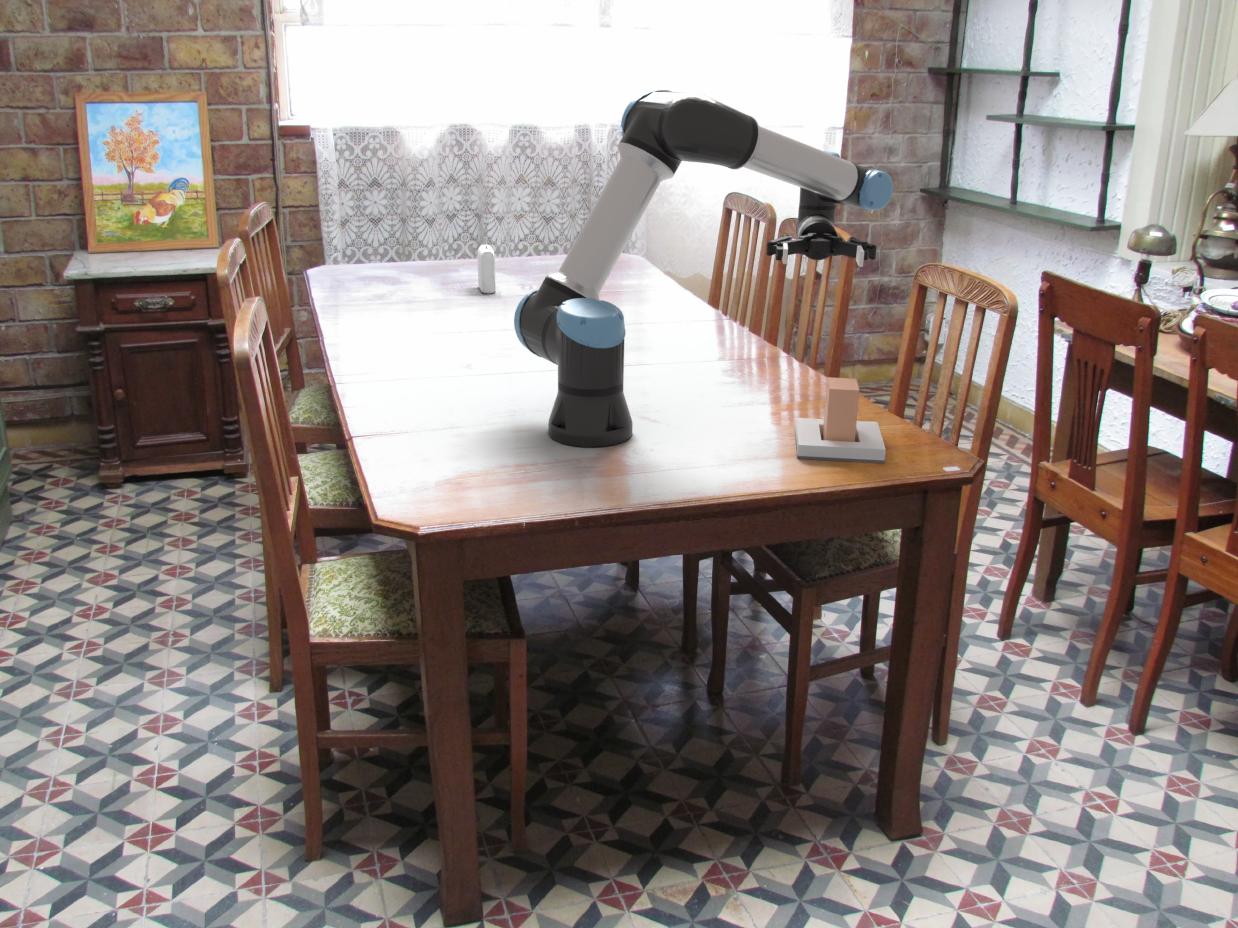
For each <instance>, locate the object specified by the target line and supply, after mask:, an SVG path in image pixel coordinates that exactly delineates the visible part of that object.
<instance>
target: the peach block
mask: <svg viewBox="0 0 1238 928" xmlns="http://www.w3.org/2000/svg"><path fill="white" fill-rule="evenodd" d="M857 379H858V378H853V377H852V378H849V377H847V378H846V377H830V376H829V377H828V376H827V379H826V381H827V382H826V391H825V404H824V416H823V417H824V418H823V419H824V426H823V440H827V441H846V442H855V433H856V423H857V421H858V410H859V400H860V386H859V383H858V380H857Z"/></svg>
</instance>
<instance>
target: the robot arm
mask: <svg viewBox="0 0 1238 928" xmlns="http://www.w3.org/2000/svg"><path fill="white" fill-rule="evenodd" d="M620 122H621V123H620V126H621V127H620V128H621V129H622V131H621V136H622V137H621V139H620V141H619V143H618V144H617V147H618V151H619V157H620V158H619V160H618V161H617V164H616V165H615V167H614V169H613V171H612V172H611V175H610V176H609V179H608V180H607V181H606V184H605V185H604V187H603V189H602V191H601V192H600V195H599V196H598V198H597V200H596V202H595V204H594V206H593V208H592V209H591V211H590V213H589V215H588V216H587V218H586V220H585V222H584V224H583V225H582V228H581V229H580V231H579V233H578V235H577V236H576V239H575V240H574V242H573V244H572V245H571V248H570V249H569V250H568V253H567V254H566V257H565V258H564V260H563V262H562V264H561V266H560V267H559V269H558V271H557V272H553V273H551V274H547V275H546V276H545V278H544V280H543V281H542V283H541V284H540V287H539V288H538V289H536V290H534V291H532V292H529V293H527V294H526V295H525V296H524V297H522V299H521V300H520V301H519V302H518V304H517V306H516V308H515V312H514V316H513V326H514V330H515V334H516V336H517V339H518V341H519V343H521V344H522V346H523V347H524V348H525V349H527V350H528V351H529V352H530V353H532V354H533V355H535V356H536V357H540V358H543V359H545V360H547V361H548V362H551V363H552V364H555V365H556V366H557V394H556V397H555V400H554V402H553V406H552V409H551V412H550V415H549V417H548V424H547V425H548V431H547V432H548V435H549V438H551V439H553V441H555V442H558V443H561V444H565V445H567V446H574V447H582V448H583V447H585V448H586V447H587V448H593V447H594V448H597V447H599V448H600V447H607V446H614V445H618V444H621V443H624V442H625V441H628V440H630V438H631V437H632V436H633V425H634V424H633V418H632V416H631V414H630V413H631V412H630V410H629V406H628V404H627V403H628V402H627V400H626V397H625V393H624V377H625V376H624V373H625V372H624V371H625V338H626V327H625V326H626V325H625V318H624V317H625V316H624V314H623V311H622V310H621V309H620V308H619V307H618V306H617V305H615V304H613V303H611V302H609V301H606V300H603V299H602V300H601V299H600V297H599V296H600V292H601V291H602V289H603V287H605V283H606V282H607V280H608V279H609V277H610V274H611V273H612V271H613V270H614V267H615V266H616V264H617V262H618V261H619V258H620V256H621V255H622V253H623V251H624V249H625V247H626V246H627V243H628V242H629V240H630V238H631V237H632V235H633V233H634V232H635V230H636V227H637V226H638V224H639V222H640V220H641V218H642V217H643V214H644V213H645V211H646V210H647V207H648V205H649V204H650V202H651V200H652V199H653V196H654V194H655V193H656V191H657V189H658V188H659V185H660V183H661V182H663V181H665V180H669V179H670V180H671V179H672V178H673V177H674V176H675V174H676V172H677V170H678V168H679V166H680V165H681V163H682V162H688V163H701V164H710V165H711V164H712V165H717V166H722V167H724V168H725V167H726V168H728V169H731V170H739V169H741V168H746V169H748V170H750V171H753V172H757V173H758V174H759V173H760V174H762V175H765V176H767V177H771V178H774V179H777V180H780V181H782V182H785V183H788V184H791V185H794V186H795V187H796V186H797V187H799V205H798V213H797V222H796V228H795V233H796V236H797V239H793V236H792V235H790V234H784V235H783V236H781V237H778V238H775V239H772V240H768V241H767V242H766V253H765V254H766V256H769V257H771V256H775V261H782V264H783V265H788V256H790V255H791V256H792V255H796V254H798V255H802V256H805V257H806V258H808V259H809V260H813V261H824V260H826V259H828V258H830V257H831V256H833V257H839V256H845V257H848V258H849V257H850V258H854V259H855V261H856V263H857V266H858V267H859V268H863V267H864V261H868V259H869V260H871V261H872V260H873V261H874V260H875V259H876V257H877V249H878V248H877V247H878V246H877V245H875V244H872V243H869V242H868V241H863V240H860V239H857V238H856V237H854V236H851V237H848V238H847V240H846V241H845V240H844V239H843V238H842V237H840V236H839V235H838V233H837V230H836V228H835V222H836V211H837V210H836V209H837V204H838V205H841V206H842V205H843V206H848V207H853V208H856V209H862V210H864V211H880V210H883V209H884V208H885V207H886V206H888V204H889V203H890V201H891V199H892V196H893V193H894V181H893V179H892V177H891V175H889V174H888V173H887V172H885V171H882V170H879V169H877V168H868V167H865V166H862V165H860V164H857V163H854V162H851V161H849V160H847V159H844V158H841V155H840V154H839V153H838V152H834V151H825V150H821V149H818V148H816V147H813V146H811V145H810V144H809V145H808V144H805V143H803V142H801V141H799V140H796V139H794V138H790V137H788V136H786V135H783V134H780V133H778V132H776V131H773V130H771V129H768V128H765V127H762V126H760V125H759V123H758V121H757V119H755V117H753V116H751V115H749V114H746V113H744V112H741V111H739V110H737V109H735V108H733V107H732V106H731V107H730V106H728V105H727V104H725V103H722V102H721V101H718V100H717V99H713V98H712V97H709V96H706V95H703V94H699V93H691V92H690V93H688V92H677V91H671V90H668V89H657V90H650V91H644V92H642V93H641V94H638V95H637V96H636V97H634V98H633V99H631V101H630V102H629V103H628V105H627V106H626V108H625V109H624V112H623V114H622V117H621V121H620Z"/></svg>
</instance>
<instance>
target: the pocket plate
mask: <svg viewBox="0 0 1238 928" xmlns="http://www.w3.org/2000/svg"><path fill="white" fill-rule="evenodd" d="M794 425H795V426H794V436H795V446H796V458H797V459H799V460H815V461H816V460H818V461H837V462H854V463H855V462H857V463H871V464H872V463H873V464H875V463H876V464H885V459H886V450H887V449H886V446H885V443H884V439H883V436H882V433H881V430H880V427H879V422H878V421H867V420H866V421H864V420H857V423H856V433H855V442H846V441H827V440H823V426H824V418H821V419H820V418H806V417H805V418H804V417H795V424H794Z"/></svg>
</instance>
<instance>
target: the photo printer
mask: <svg viewBox="0 0 1238 928" xmlns="http://www.w3.org/2000/svg"><path fill="white" fill-rule="evenodd" d="M495 255H496V254H495V252H494V249H493V248H492V247H491V246H490V245H489V244H481V245H480V246H479V247H478V249H477V255H476V256H477V281H478V283H477V284H478V288H479V290H480V291H481V293H483V294H493V293H495V292H496V256H495Z"/></svg>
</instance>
